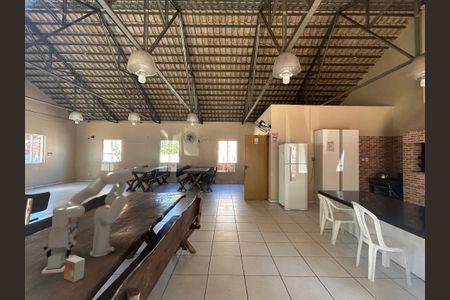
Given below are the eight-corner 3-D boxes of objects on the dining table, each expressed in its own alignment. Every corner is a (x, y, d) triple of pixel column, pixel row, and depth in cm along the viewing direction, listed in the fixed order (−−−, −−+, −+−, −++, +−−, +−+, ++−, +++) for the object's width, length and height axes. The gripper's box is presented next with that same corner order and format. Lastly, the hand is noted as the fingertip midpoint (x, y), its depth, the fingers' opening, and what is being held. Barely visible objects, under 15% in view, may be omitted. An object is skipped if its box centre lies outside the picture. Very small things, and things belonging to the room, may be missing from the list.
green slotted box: (64, 262, 126) (65, 252, 126) (59, 267, 120) (60, 256, 121) (52, 263, 124) (53, 253, 125) (47, 268, 119) (48, 257, 119)
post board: (57, 258, 134) (58, 243, 134) (75, 257, 137) (76, 242, 137) (41, 273, 117) (43, 256, 117) (62, 272, 119) (63, 255, 120)
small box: (63, 278, 113) (65, 259, 114) (74, 273, 118) (75, 255, 119) (73, 282, 110) (74, 262, 111) (83, 277, 116) (85, 258, 116)
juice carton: (68, 244, 154) (71, 211, 155) (57, 244, 153) (59, 211, 154) (76, 237, 166) (79, 207, 167) (66, 237, 165) (68, 207, 166)
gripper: (79, 224, 129) (78, 252, 129) (46, 226, 125) (44, 254, 124) (74, 229, 122) (73, 258, 122) (38, 231, 117) (37, 261, 117)
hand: (58, 256), depth 123 cm, fingers open, 9 cm apart
